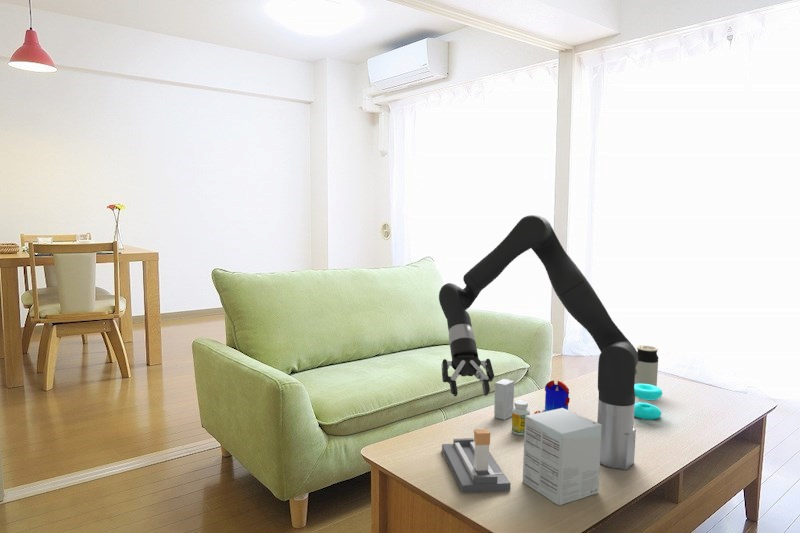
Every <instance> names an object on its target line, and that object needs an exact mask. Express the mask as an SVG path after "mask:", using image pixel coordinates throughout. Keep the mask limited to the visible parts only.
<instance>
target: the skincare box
mask: <svg viewBox="0 0 800 533" xmlns="http://www.w3.org/2000/svg"><path fill="white" fill-rule="evenodd" d="M514 397H515V381H514V380H511V379H508V378H507V379H506V378H502V379H501V380H497V381H496V382H494V404H493V405H494V408H493V409H494V412H493V414H494V416H493V417H494V418H496V419H500V420H503V421H506V420H507V419H509V418H512V410H513V408H514V407H515V406H514V405H515V401H514V400H515V399H514Z"/></svg>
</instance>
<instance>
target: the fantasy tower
mask: <svg viewBox="0 0 800 533" xmlns="http://www.w3.org/2000/svg"><path fill="white" fill-rule="evenodd" d="M544 391H545V396H544V398H545V400H544V410H542V411H540V410H536V411H534V412H533V414H536V413H541V412H546V411H550V410H555V409H560V408H564V409H567V410H569V404H570V399H571V398H570V395H569V394H570V389H569V387H568V386H567V385H566V384H565V383H564V382H562V381H559V380H557V383H556V384H555V380H550V381H549V382H547V383H546V384H545V387H544Z"/></svg>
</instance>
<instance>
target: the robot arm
mask: <svg viewBox="0 0 800 533" xmlns="http://www.w3.org/2000/svg"><path fill="white" fill-rule="evenodd" d="M530 249H531V250H532V251H533V253H534V254H535V255H536V256H537V258H538V259H539V260H540V262H541V263H542V265H543V266H544V269H545V271H546V274H547V277H548V279H549V282H550V284H551V286H552V289H553V291H554V292H555V294H556V296H557V297H558V299H559V301H560V302H561V304H562V305H563V306H564V308H565V310H566V311H567V312H568V313H569V314H570V315H571V317H573V318H574V320H575V321H577V323H579V324H580V325H581V326H582V327H583V329H585V330H586V331H587V333H589V334H590V336H591V337H592V339H593V341H594V342H595V344H596V345H597V347H598V349H599V351H600V354H599V358H598V364H597V391H598V399H597V400H598V404H597V420H596V421H597V423H599V424H601V425H602V427H601V448H600V464H601V465H603V466H606V467H608V468H612V469H622V470H628V469H629V468H630V467H631V466H632V465H634V464H635V454H636V452H635V450H636V436H637V434H636V432H637V430H636V429H635V428H634V423H635V421H634V420H635V416H634V408H635V403H636V397H635V391H634V385H635V368H636V366H637V363H638V354H637V352H638V350H637V348H635V347H634V345H633V344H632V343H631V341H630V340H629V339H628V338H627V337H626V336H625V335H624V333H623V332H622V331H621V330H620V328H619V327H618V325H617V324H615V322H614V320H613V319H612V318H611V316H610V314H609V313H608V311H607V309H606V307H605V306H604V304H603V302H602V300H601V299H600V298H599V296H598V295H597V293H596V291H595V289H594V288H593V287H592V285H591V283H590V282H589V281H588V279H587V278H586V276H585V275H584V274H583V273H582V271H581V270H580V269H579V267H578V265H576V263H575V261H573V260H572V258H571V257H570V256H569V255H568V253H567V252H566V251H565V249H564V248H563V245H562V244H561V242H560V240H559V238H558V236H557V235H556V233H555V231H554V228H553V227H552V224H551V223H550V222H549V221H548V220H547V219H546V218H545V217H543V216H541V215H533V214H529V215H525V216H524V217H523V216H522V218H521V219H519V221H518V222H517V223H516V225H515V226H514V227H513V228H512V229H511V231H509V233H508V234H507V235H506V237H504V239H503V240H502V241H501V242H500V243H499V244H498V245H497V246H496V247H495V248H493V250H491V251H490V252H489V253H488V254H487V255H486V256H484V257H483V258H482V259H481V260H480V261H478V262H477V263H476V264H475V265H474V266H473V267H471V268H470V269H469V270H468V271H467V272H466V273H465V274H464V275H463V278H462V279H463V282H464V284H465V287H464V288H461V287H460V286H458V285H456V283H451V282H449V283H448V282H447V283H445V284H443V285H442V286H441V288H440V290H439V292H438V301H439V305H440V308H441V310H442V313H443V314H444V317H445V318H446V321H447V323H446V324H447V329H448V330H447V331H448V344H449V349H450V356H451V360H447V359H446V358H444V359H442V361H441V362H442V363H441V380H442V382H443V383H448V384H449V387H450V393H451V395H453V397H457V395H458V386H457V379H458V377H459V376H461V377H473V376H474V377H475V378H476V379H477V380H480V382H482V383H481V385H482V391H483V392H482V393H483V396H484V397H487V396H488V395H489V394H490V390H491V388H490V384H489V383H491V382H493V381H494V378H495V373H494V370H493V366H492V361H491V359H490V358H486V359H485V360H480V359H479V353H478V347H477V343H476V336H475V333H474V330H473V327H472V325H473V324H472V320H471V319H472V318H471V316H470V314H469V313H468V311H467V310H468V309H469V308H470V307H471V306H472V304H473V303H474V302H475V300H476V299H477V298H478V297H479V294H481V292H482V291H483V290H484V289H485V288H486V287H487V286H489V285H490V284H491V283H492V282H493V281H494V280H496V279H497V278H498V277H499V276H500V275H501V274H502V273H503V272H504V270H506V268H507V267H508V266H509V265H510V264H511V263H512V262H513V261H514V260H516V259H517V258H518V257H519V256H520V255H522V254H523V253H525V252H527V251H529V250H530ZM450 366H451V368H453V370H454V371H453V374H452V375H451V376H449V370H448V369H450ZM481 367H482V368H483V369H484V370H485V372H486V373H485V372H484V370H483V369H482V368H481Z"/></svg>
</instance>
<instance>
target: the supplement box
mask: <svg viewBox="0 0 800 533" xmlns="http://www.w3.org/2000/svg"><path fill="white" fill-rule="evenodd" d="M540 412H541V413H536V414H534V413H532V414H531V413H530V415H526V416H525V434H524V435H523V436H524V439H523V440H524V441H523V462H522V464H523V465H522V483H524V485H527V487H530V488H532V489H533V490H534V491H536V492H537V493H539V494H541V495H542V496H543V497H545V498H546V499H548V500H550V501H551V502H553V503H554V504H556V505H557V506H562V505H565V504H568V503H571V502H574V501H577V500H580V499H584V498H586V497H591V496H593V495H596V494H598V493H599V490H600V489H599V485H600V464H601V463H600V448H601V427H602V425H601V424H599V423H597V422H596V421H595V420H592V419H590V418H588V417H585V416H583V415H581V414H578V413H576V412H573V411H571V410H569V409H568V410H567V409H564V408H560V409H555V410H550V411H546V412H542V411H540Z"/></svg>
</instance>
